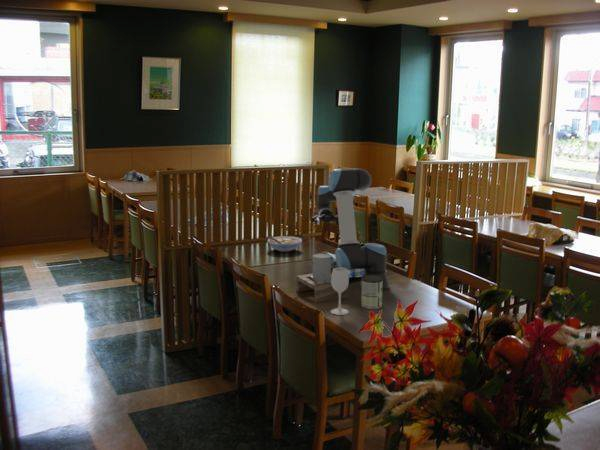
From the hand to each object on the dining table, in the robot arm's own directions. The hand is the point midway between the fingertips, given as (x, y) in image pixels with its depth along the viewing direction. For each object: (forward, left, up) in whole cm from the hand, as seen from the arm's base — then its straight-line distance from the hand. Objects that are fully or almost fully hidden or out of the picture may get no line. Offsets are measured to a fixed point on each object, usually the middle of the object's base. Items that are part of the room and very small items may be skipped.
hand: (331, 222), depth 347 cm
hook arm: (-14, +26, -26) cm, 39 cm away
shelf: (-14, +26, -32) cm, 43 cm away
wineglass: (-38, +43, -32) cm, 65 cm away
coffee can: (-44, +25, -32) cm, 60 cm away
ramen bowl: (+62, -32, -32) cm, 77 cm away
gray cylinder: (-14, +26, -24) cm, 38 cm away
